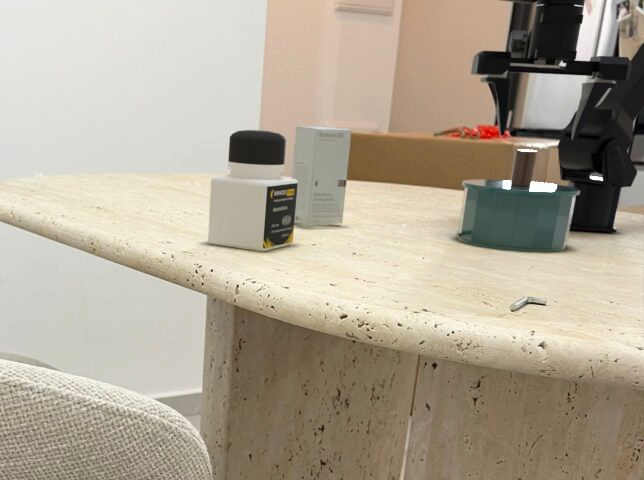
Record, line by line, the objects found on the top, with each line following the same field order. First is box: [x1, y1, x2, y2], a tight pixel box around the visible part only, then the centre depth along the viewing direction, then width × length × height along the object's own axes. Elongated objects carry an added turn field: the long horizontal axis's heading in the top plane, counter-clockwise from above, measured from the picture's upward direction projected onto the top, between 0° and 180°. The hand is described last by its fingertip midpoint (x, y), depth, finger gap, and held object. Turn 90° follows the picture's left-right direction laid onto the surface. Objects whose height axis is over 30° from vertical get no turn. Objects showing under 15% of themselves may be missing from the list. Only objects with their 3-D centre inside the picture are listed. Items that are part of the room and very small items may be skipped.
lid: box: [461, 149, 581, 196], centre depth 113 cm, size 14×14×5 cm
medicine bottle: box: [207, 129, 298, 252], centre depth 103 cm, size 7×7×12 cm
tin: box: [457, 187, 576, 253], centre depth 115 cm, size 13×13×6 cm
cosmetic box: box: [291, 125, 352, 229], centre depth 121 cm, size 6×4×12 cm
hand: (537, 137), depth 124 cm, fingers open, 9 cm apart
